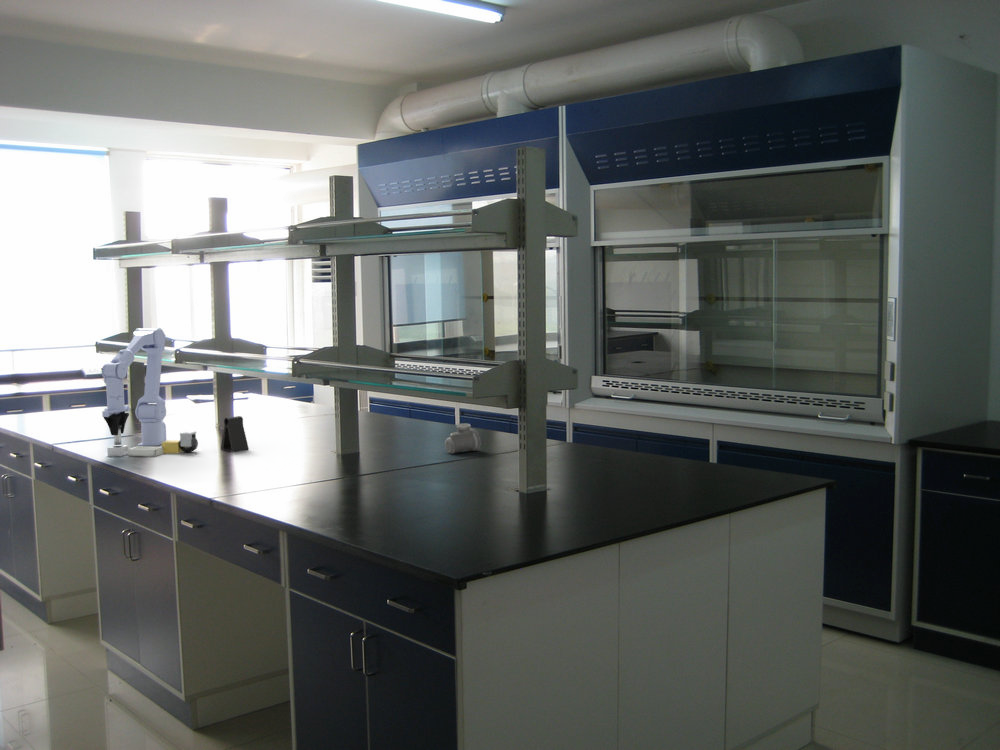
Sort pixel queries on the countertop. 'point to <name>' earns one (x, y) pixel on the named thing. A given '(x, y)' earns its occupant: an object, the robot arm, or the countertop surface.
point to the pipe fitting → (463, 439)
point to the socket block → (118, 450)
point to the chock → (171, 447)
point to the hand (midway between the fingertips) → (117, 434)
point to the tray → (145, 451)
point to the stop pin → (118, 436)
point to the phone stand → (234, 435)
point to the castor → (188, 441)
